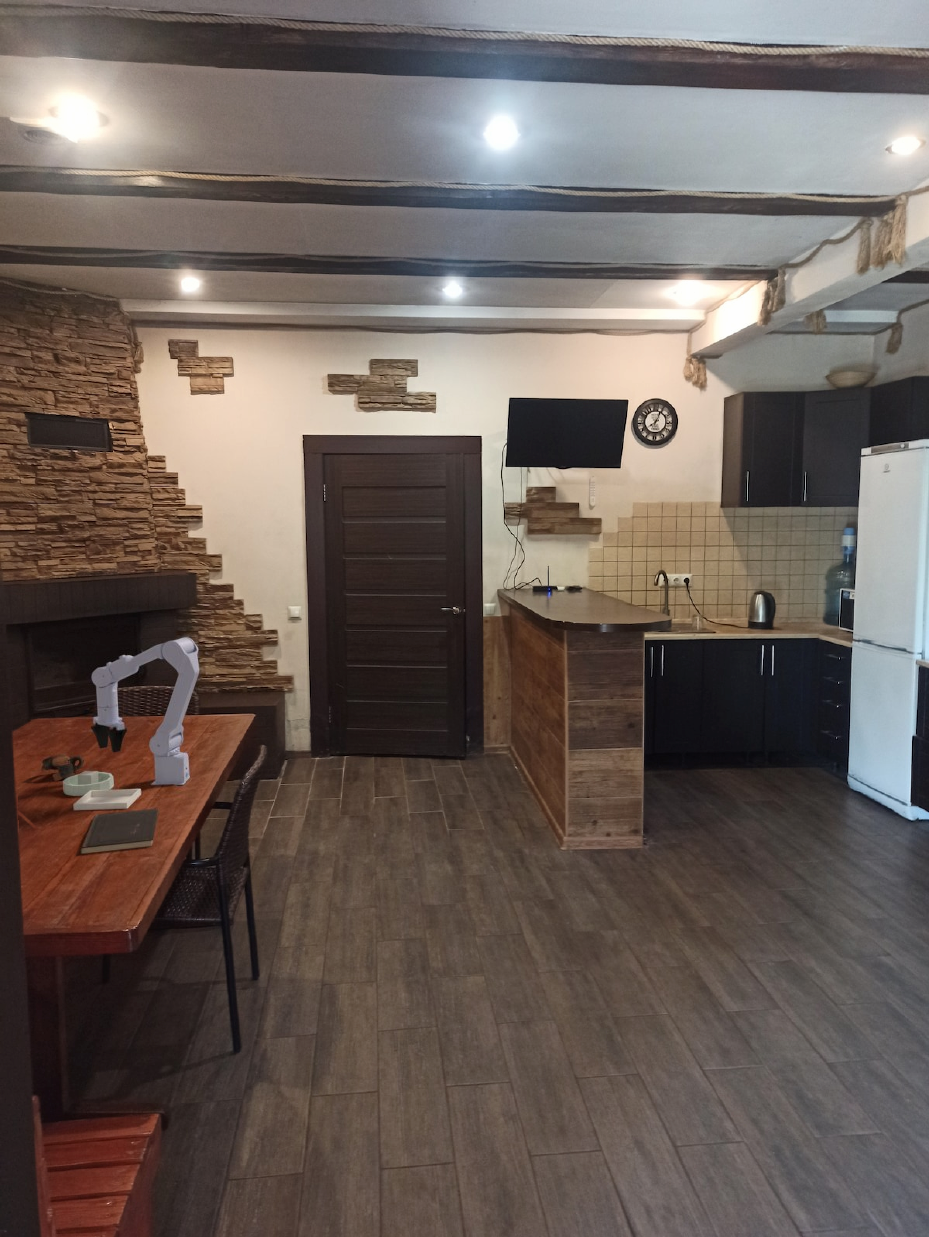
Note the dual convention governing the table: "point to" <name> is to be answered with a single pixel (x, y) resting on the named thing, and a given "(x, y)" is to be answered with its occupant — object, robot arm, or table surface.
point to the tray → (107, 799)
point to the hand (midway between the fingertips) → (109, 749)
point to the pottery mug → (62, 765)
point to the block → (88, 777)
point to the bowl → (80, 790)
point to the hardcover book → (120, 831)
